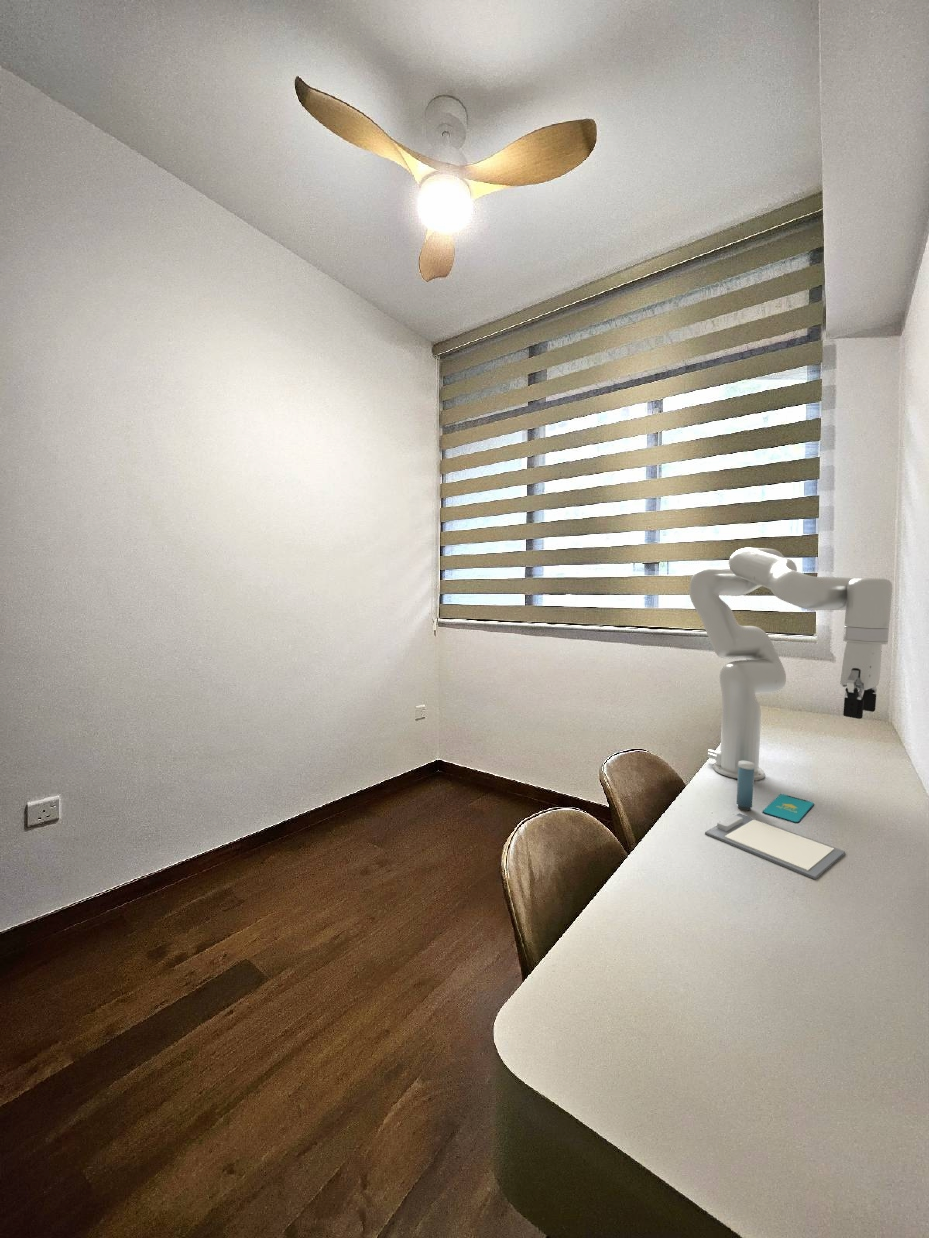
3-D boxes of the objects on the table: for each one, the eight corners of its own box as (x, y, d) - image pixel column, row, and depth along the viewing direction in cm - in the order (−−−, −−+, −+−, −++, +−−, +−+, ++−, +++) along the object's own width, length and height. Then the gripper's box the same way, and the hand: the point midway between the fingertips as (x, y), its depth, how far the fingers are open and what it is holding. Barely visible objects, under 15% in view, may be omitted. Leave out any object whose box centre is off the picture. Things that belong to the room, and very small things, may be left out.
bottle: (733, 807, 118) (736, 762, 117) (740, 804, 120) (742, 759, 119) (748, 812, 115) (750, 766, 114) (754, 809, 117) (756, 763, 116)
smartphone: (761, 810, 115) (780, 792, 126) (761, 814, 115) (780, 795, 126) (798, 822, 110) (815, 802, 120) (797, 826, 110) (814, 805, 120)
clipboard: (704, 833, 105) (705, 827, 105) (739, 815, 114) (739, 808, 114) (815, 879, 89) (815, 871, 89) (844, 853, 98) (845, 846, 98)
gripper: (855, 632, 116) (850, 704, 117) (831, 636, 105) (825, 716, 107) (897, 635, 110) (891, 711, 111) (876, 640, 99) (869, 724, 101)
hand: (859, 713), depth 109 cm, fingers open, 9 cm apart
